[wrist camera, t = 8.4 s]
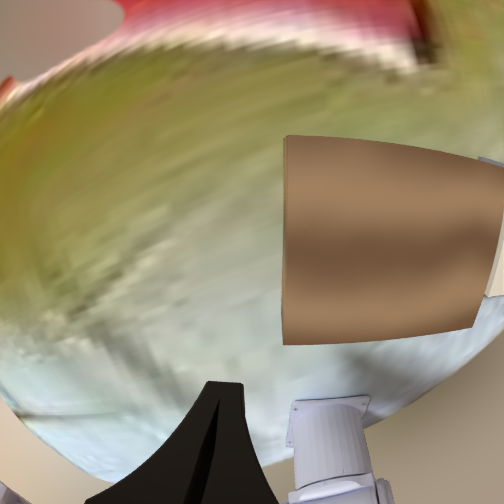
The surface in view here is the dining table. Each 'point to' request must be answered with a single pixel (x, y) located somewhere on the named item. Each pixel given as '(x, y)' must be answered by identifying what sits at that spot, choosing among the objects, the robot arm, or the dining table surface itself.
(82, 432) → the dining table surface
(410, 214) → the plate
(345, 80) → the dining table surface
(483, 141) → the dining table surface
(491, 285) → the cream rectangular block
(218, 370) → the dining table surface
